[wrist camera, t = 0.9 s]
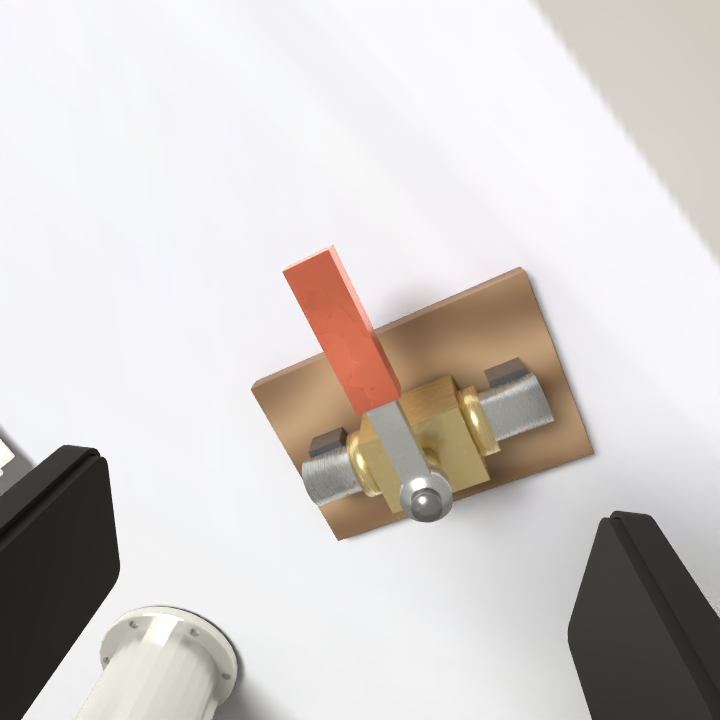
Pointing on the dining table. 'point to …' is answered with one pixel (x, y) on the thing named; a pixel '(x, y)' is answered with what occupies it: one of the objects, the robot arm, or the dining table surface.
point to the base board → (426, 364)
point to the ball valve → (430, 436)
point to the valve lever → (367, 377)
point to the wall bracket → (4, 455)
